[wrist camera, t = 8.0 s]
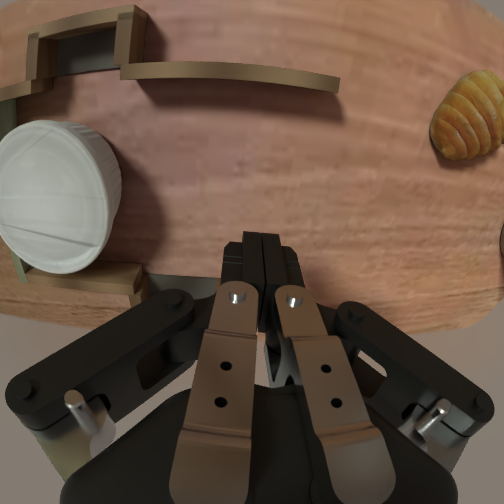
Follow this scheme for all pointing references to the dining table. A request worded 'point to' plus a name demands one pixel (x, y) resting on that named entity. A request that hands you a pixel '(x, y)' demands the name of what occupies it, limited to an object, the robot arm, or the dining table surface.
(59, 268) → the ramekin
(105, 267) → the box
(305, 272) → the dining table surface
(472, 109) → the pastry
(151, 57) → the dining table surface
